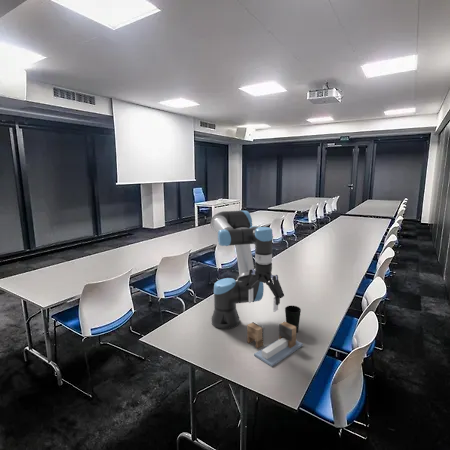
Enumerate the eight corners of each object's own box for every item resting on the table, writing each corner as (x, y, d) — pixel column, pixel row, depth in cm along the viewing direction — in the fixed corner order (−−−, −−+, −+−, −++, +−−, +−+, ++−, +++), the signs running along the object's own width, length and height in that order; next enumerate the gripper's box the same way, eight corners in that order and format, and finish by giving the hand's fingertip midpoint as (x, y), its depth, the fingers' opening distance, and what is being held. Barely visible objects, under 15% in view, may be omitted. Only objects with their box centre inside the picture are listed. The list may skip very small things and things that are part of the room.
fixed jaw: (295, 344, 135) (296, 326, 133) (290, 348, 132) (290, 330, 131) (284, 338, 140) (284, 321, 138) (279, 342, 137) (279, 324, 136)
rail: (254, 355, 129) (254, 347, 129) (285, 336, 143) (285, 329, 143) (271, 366, 122) (271, 358, 121) (302, 345, 136) (302, 337, 135)
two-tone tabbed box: (247, 342, 139) (247, 325, 138) (253, 339, 142) (253, 322, 140) (257, 348, 134) (257, 330, 133) (263, 345, 137) (263, 327, 135)
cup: (282, 332, 148) (282, 310, 145) (288, 325, 154) (288, 304, 152) (297, 336, 143) (297, 313, 141) (302, 329, 150) (302, 307, 147)
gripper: (236, 258, 135) (236, 300, 140) (284, 270, 119) (282, 318, 124) (246, 254, 141) (246, 295, 145) (292, 265, 125) (291, 311, 129)
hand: (262, 306), depth 134 cm, fingers open, 13 cm apart
